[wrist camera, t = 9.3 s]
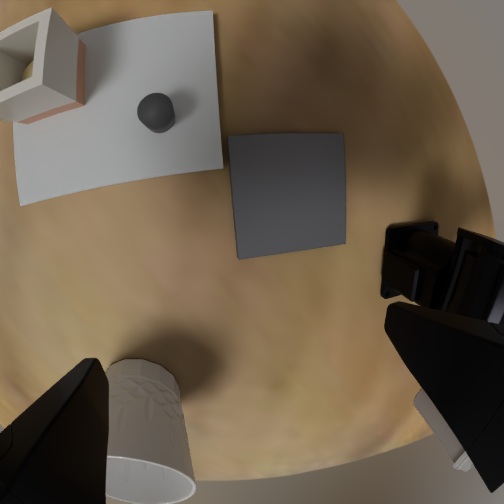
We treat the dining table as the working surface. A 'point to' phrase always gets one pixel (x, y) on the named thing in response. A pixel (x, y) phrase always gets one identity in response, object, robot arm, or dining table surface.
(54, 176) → the pin board
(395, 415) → the dining table surface
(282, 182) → the mat
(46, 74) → the sleeve
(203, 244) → the dining table surface
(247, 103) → the dining table surface
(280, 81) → the dining table surface
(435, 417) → the coffee cup
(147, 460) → the white cup
